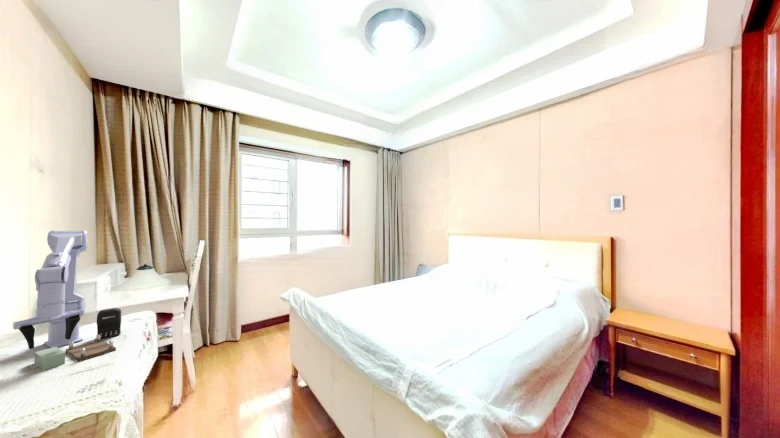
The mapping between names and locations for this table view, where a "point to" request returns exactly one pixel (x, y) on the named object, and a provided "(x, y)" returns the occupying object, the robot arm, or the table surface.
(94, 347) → the chassis
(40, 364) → the pale green block
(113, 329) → the battery charger
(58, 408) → the table surface
